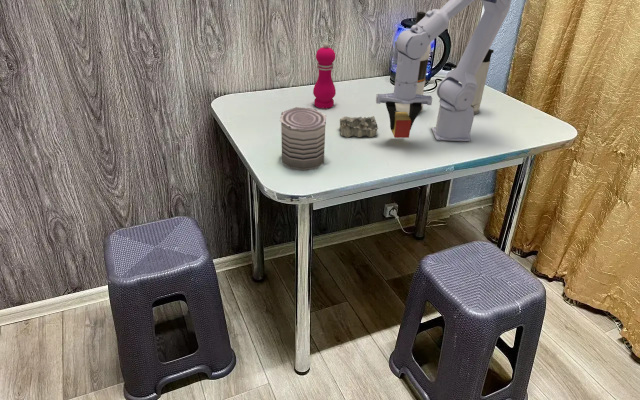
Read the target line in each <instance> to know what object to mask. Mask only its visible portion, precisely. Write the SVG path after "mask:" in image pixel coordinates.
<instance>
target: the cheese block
mask: <svg viewBox="0 0 640 400" xmlns="http://www.w3.org/2000/svg"><path fill="white" fill-rule="evenodd" d="M410 127H411V119H410V117H409V115H408V114H407V112H397V111H396V113H395V118H394V129H393V130H391V129H390V132H391V133H392V136H393V138H394V139H409V138H410V134H411V130H410ZM411 128H412V127H411Z"/></svg>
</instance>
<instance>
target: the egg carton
mask: <svg viewBox="0 0 640 400" xmlns="http://www.w3.org/2000/svg"><path fill="white" fill-rule="evenodd" d="M338 121H339V131H340V136H343V137H345V138H350V137H352V136H353V137H354V136H355V137H357V138H362V137H363V136H367V137H368V138H374V137H375V136H376V135H377V132H378V129H379V126H378V123H377V120H376V117H375V115H372V116H368V117H366V116H363V117H362V116H358V117H357V116H356V117H355V116H354V117H351V116H342V117H341V118H339V120H338Z"/></svg>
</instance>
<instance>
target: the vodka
mask: <svg viewBox="0 0 640 400" xmlns="http://www.w3.org/2000/svg"><path fill="white" fill-rule="evenodd" d="M426 13H427V12H425V11H417V12H416V17H415V24H414V25H416V24H417V23H418V22H419V21H420V20H422V19H423V18H424V17H425V16H426ZM431 50H432V45H431V44H430V45H429V46H428V48H427V51H426V53H425V54H424V55H423V56H421V60H420V67H419V74H418V81H417V88H416V94H419V95H424V90H425V85H426V83H427V81H426V76H427V71H428V70H427V69H428V63H429V59H430V53H431ZM395 105H396V112H407V114H408V115H409V111H410V104H402V103H395ZM423 109H424V104H422V110H421V112H422V111H423Z"/></svg>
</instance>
